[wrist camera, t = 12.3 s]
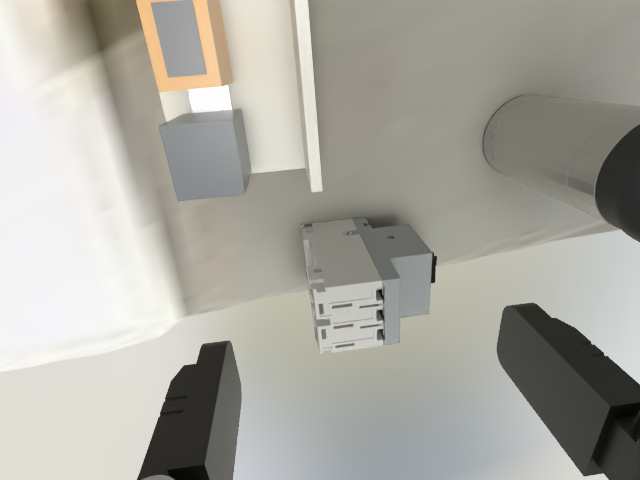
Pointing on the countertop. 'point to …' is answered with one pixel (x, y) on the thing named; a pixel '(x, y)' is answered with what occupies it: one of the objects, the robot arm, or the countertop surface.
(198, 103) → the rail
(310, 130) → the panel
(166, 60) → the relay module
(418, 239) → the circuit breaker
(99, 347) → the countertop surface
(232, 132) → the block
